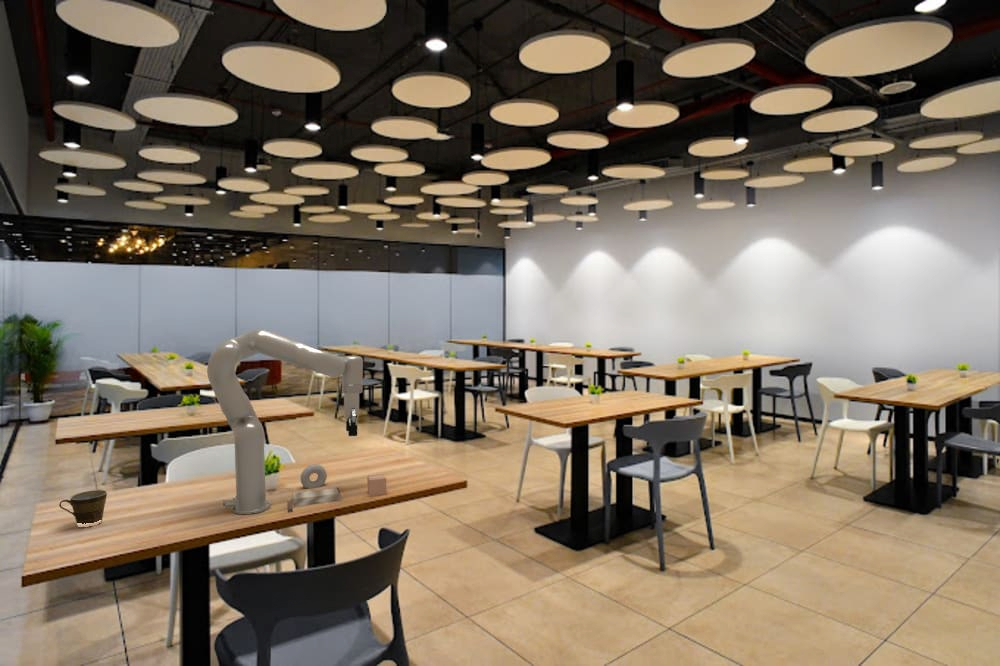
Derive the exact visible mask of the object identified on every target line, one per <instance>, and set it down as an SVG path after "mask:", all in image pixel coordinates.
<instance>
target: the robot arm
mask: <svg viewBox="0 0 1000 666" xmlns="http://www.w3.org/2000/svg"><path fill="white" fill-rule="evenodd" d="M258 354H260V355H261V354H262V355H264V356H266V357H270V358H273V359H276V360H279V361H282V362H285V363H287V364H290V365H293V366H296V367H300V368H304V369H307V370H310V371H313V372H316V373H320V374H321V375H324V376H328V377H330V378H339V377H341V393H342V394H344V397H343V418H344V419H345V420H346V421H345V424H346V425H345V426H346V427H345V430H346V432H348V437H357V436H358V419H359V415H360V394H362V393H363V378H364V376H363V374H364V373H363V366H364V364H363V363H364V361H363V357H362V356H359V355H346V356H339V355H332V354H329V353H327V352H324V351H321V350H320V349H319V350H318V349H316V348H313V347H311V346H309V345H307V344H305V343H303V342H300V341H298V340H295V339H292V338H289V337H287V336H284V335H281V334H278V333H276V332H273V331H271V330H267V329H264V328H258V329H254V330H251V331H249V332H246V333H244V334H241V335H238V336H235V337H233V338H230V339H227V340H224V341H222V342H221V343H219V344H218V345H217V347H216V348H215V351H214V352H213V353H212V355H211V356H210V357H209V360H208V362H207V368H206V373H207V379H208V382H209V384H210V386H211V389H212V391H213V393H214V395H215V397H216V399H217V402H218V403H219V407H220V410H221V412H222V414H223V416H224V417H225V418H226V420H227V423H228V425H229V427H230V429H231V431H232V433H233V436H234V439H233V440H234V467H235V492H236V493H235V494H236V495H235V497H233V498H232V499H224V500H222V507H224V506H225V507H226V508H229V507H231V512H232V511H233V512H234V514H235V513H237V514H236V515H241V514H246V515H252V514H251V513H254V514H258V512H259V513H261V512H265V511H268V510H269V509H270V508H271V504H272V503H271V501H269V500H267V496H266V493H267V492H266V490H267V489H266V463H265V440H266V439H265V430H264V427H263V425H262V423H261V422H260V420H259V418H258V416H257V414H256V411H255V409H254V407H253V405H252V402H251V401H250V398H249V397H248V395H247V394H246V393H245V391H244V390H243V388H242V385H241V384H240V381H239V378H238V376H237V375H236V366H237V365H238V364H239V362H241V361H242V360H244V359H248V358H249V357H253V356H255V355H258ZM233 512H232V513H233Z"/></svg>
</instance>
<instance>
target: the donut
mask: <svg viewBox="0 0 1000 666" xmlns="http://www.w3.org/2000/svg"><path fill="white" fill-rule="evenodd" d="M314 474H316V475H317V478H316V480H311V479H310V477H311V475H314ZM327 476H328V474H327V471H326V469H325V467H323V466H322V465H320V464H310V465H308V466H306V467H305V468H304V469H303V470H302V472H301V474H300V482H301V485H302V486H303V488H305V489H314V488H320V487H323V486H324V485H325V483H326V482H327Z"/></svg>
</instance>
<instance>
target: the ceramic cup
mask: <svg viewBox="0 0 1000 666" xmlns="http://www.w3.org/2000/svg"><path fill="white" fill-rule="evenodd" d="M107 496H108V492H107V490H103V489H102V490H101V489H97V490H96V489H95V490H88V491H86V490H85V491H82V492H78V493H76V494H73V495H71V496H70V497H69V499H68V498H67V499H62V500H61V501H60V502H59V505H58V506H59V508H60V509H61V510H64V511H66V512H68V513H69V514H71V515H72V516H73V517H74V518H75V522H76V524H77V523H82V524H84V523H85V524H86V523H94V522H97V521H99V520H102V521H103V519H104V518H103V517H104V511H105V505H106V501H107ZM64 502H65V503H69V504H70V506H71V508H72V511H73V512H72V511H70V510H69V509H68V508H65V507H63V506H62V503H64ZM102 518H103V519H102Z"/></svg>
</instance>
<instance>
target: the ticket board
mask: <svg viewBox="0 0 1000 666" xmlns="http://www.w3.org/2000/svg"><path fill="white" fill-rule="evenodd" d="M292 495H293V496H292V499H293V500H292V499H290V500H287V501H286V502H287V512H288V513H293V512H294V509H293V508H295V507H303V506H308V505H309V506H310V505H311V506H312V505H317V504H326V503H332V502H333V503H334V502H341V501H342V493H341V489H340V487H334V488H333V487H332V488H324V489H317V490H309V491H302V492H293V494H292Z"/></svg>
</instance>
